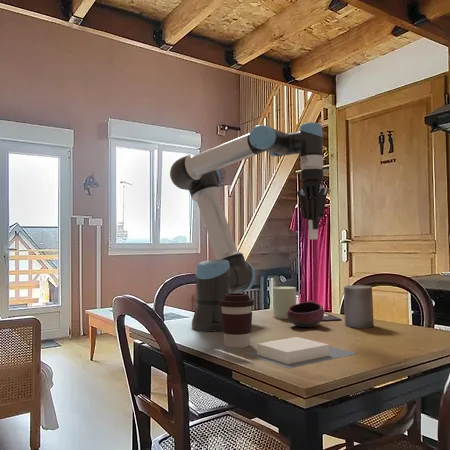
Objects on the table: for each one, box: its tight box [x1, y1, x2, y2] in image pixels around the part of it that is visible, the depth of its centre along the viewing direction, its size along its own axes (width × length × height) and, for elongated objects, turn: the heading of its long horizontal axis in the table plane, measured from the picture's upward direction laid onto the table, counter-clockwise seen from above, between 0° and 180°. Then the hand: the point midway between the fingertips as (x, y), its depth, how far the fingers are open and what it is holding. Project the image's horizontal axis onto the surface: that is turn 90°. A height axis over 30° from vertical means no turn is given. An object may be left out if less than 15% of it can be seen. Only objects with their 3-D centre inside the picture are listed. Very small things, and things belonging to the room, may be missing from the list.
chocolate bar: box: [321, 311, 342, 322], centre depth 185 cm, size 9×1×18 cm
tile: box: [256, 336, 330, 364], centre depth 123 cm, size 12×3×14 cm
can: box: [272, 286, 297, 320], centre depth 187 cm, size 9×9×12 cm
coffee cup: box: [219, 292, 255, 349], centre depth 136 cm, size 10×10×15 cm
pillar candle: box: [343, 282, 374, 329], centre depth 167 cm, size 10×10×15 cm
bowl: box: [287, 299, 325, 328], centre depth 168 cm, size 16×13×8 cm
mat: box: [243, 345, 359, 369], centre depth 125 cm, size 18×24×1 cm
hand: (313, 239), depth 160 cm, fingers closed
